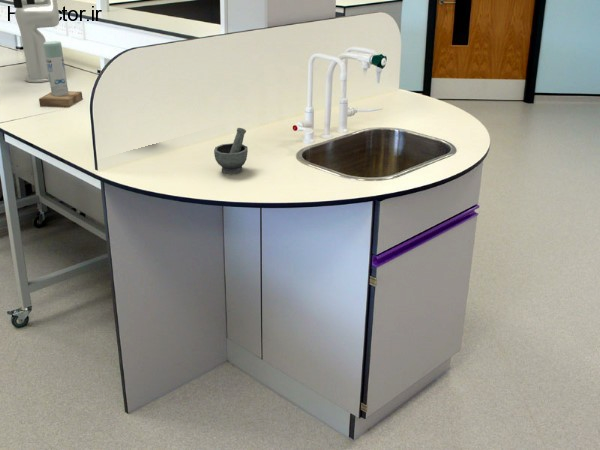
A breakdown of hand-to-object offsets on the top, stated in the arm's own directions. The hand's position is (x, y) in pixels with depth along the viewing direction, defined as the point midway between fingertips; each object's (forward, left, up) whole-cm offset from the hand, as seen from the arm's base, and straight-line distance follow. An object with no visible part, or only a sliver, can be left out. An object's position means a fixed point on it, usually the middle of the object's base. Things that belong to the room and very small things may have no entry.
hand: (24, 6), depth 280 cm
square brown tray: (+15, +17, -34) cm, 41 cm away
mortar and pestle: (+79, +102, -34) cm, 134 cm away
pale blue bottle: (+15, +17, -31) cm, 39 cm away
